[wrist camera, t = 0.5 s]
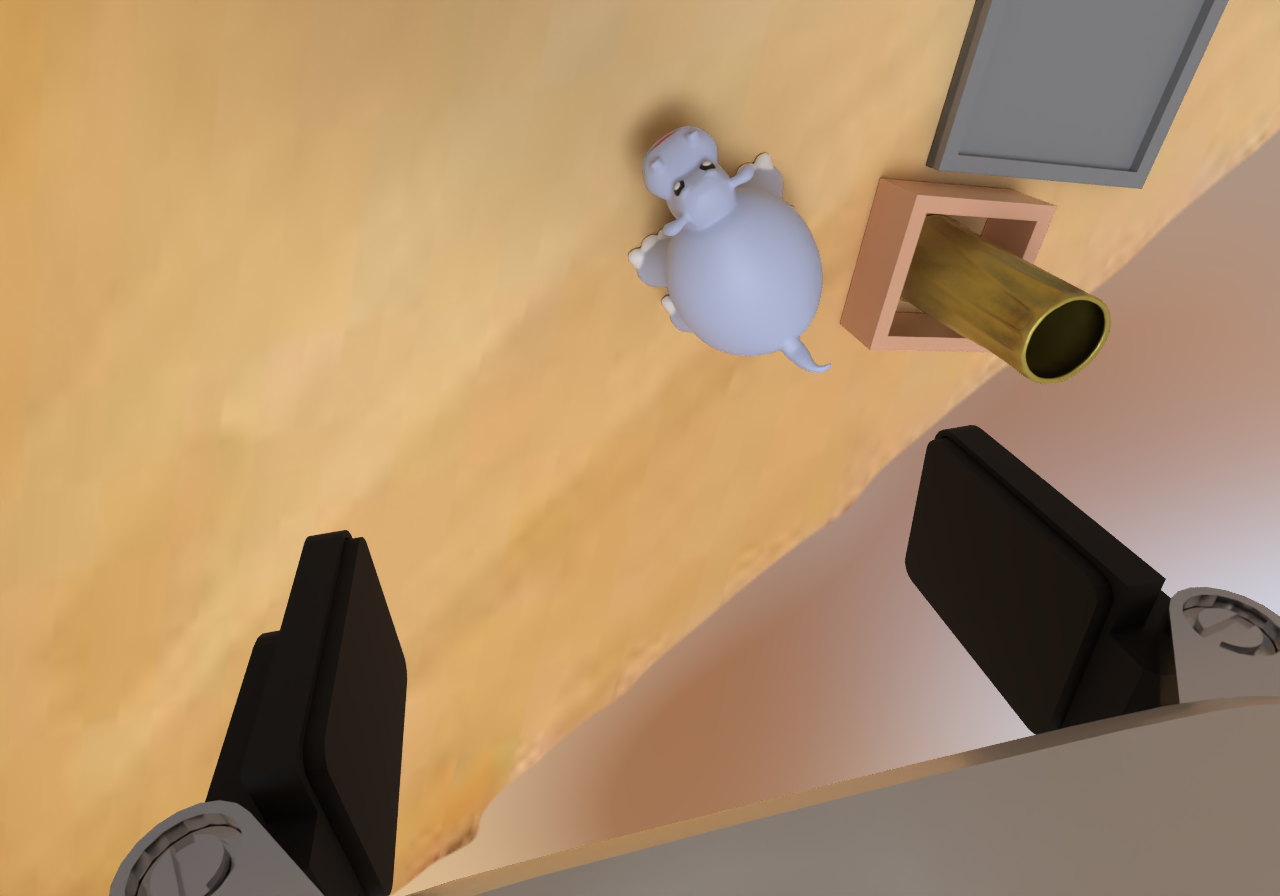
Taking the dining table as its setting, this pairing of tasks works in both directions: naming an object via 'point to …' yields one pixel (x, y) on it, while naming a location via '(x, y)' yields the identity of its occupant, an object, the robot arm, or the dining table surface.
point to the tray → (1070, 87)
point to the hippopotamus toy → (730, 251)
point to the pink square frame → (892, 248)
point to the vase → (1004, 302)
